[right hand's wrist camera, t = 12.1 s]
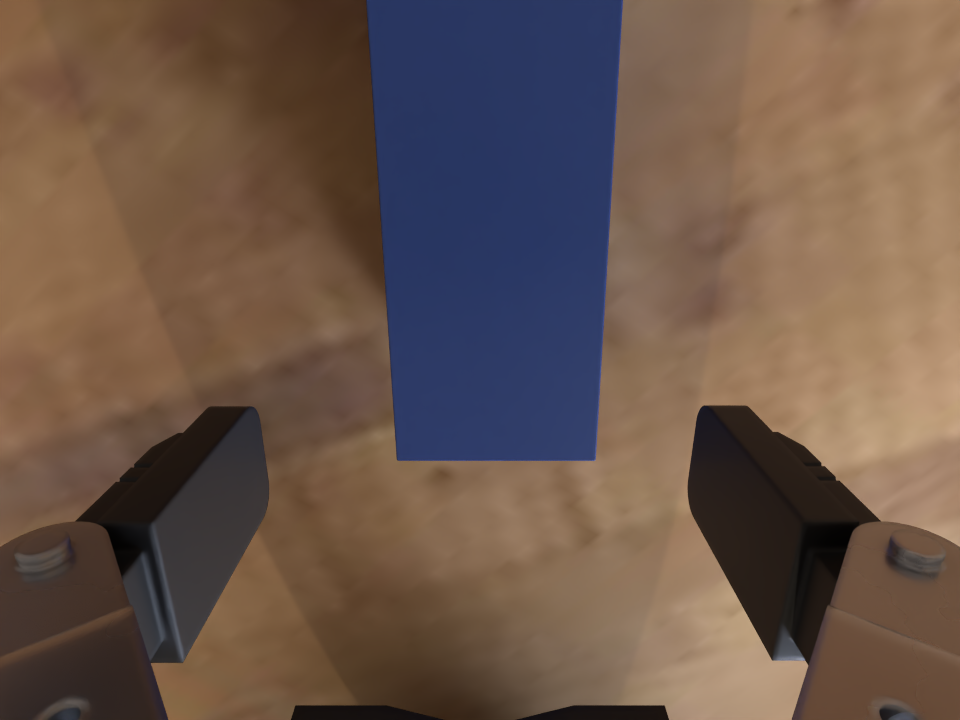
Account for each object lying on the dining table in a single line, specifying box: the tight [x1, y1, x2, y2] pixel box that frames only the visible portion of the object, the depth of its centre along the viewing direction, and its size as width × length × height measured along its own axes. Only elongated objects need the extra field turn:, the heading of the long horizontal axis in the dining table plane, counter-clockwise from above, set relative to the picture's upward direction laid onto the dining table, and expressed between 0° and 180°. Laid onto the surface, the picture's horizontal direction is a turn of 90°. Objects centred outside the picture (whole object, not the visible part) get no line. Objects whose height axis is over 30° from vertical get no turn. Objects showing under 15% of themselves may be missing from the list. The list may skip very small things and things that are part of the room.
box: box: [366, 0, 623, 461], centre depth 20 cm, size 27×6×10 cm, turn 1°
